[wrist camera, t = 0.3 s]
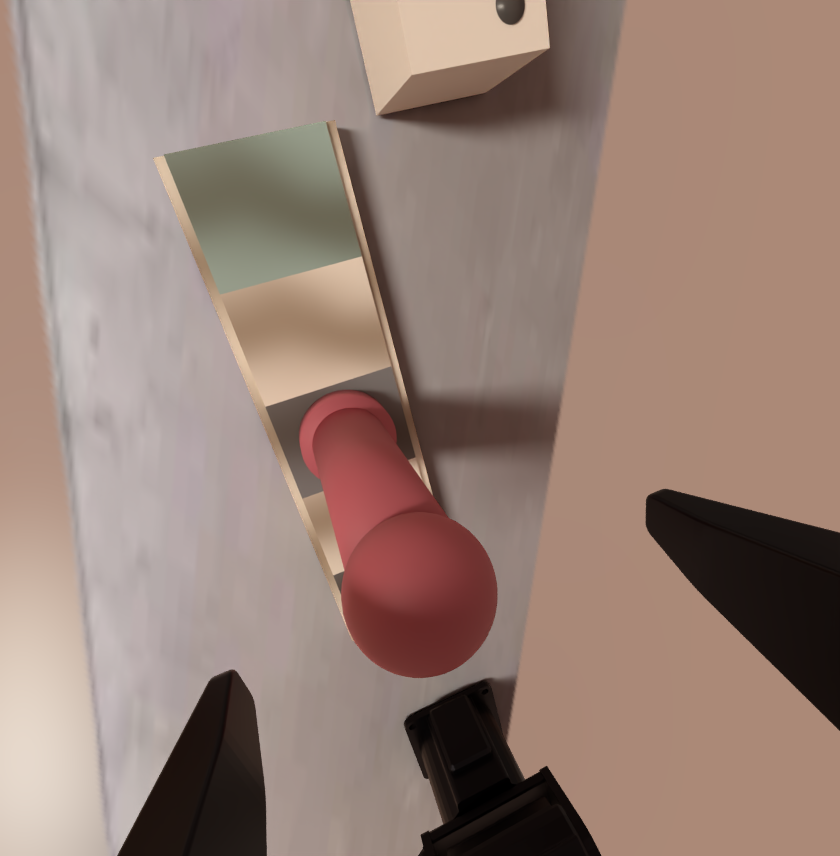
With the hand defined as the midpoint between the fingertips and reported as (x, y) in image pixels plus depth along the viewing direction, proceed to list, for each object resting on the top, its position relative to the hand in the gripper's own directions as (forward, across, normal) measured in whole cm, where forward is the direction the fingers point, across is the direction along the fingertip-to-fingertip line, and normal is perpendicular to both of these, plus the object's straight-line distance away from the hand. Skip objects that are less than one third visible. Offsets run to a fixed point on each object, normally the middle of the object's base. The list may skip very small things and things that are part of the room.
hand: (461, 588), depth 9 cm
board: (+15, +1, +3) cm, 15 cm away
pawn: (+14, +1, +3) cm, 14 cm away
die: (+16, -7, -12) cm, 21 cm away
